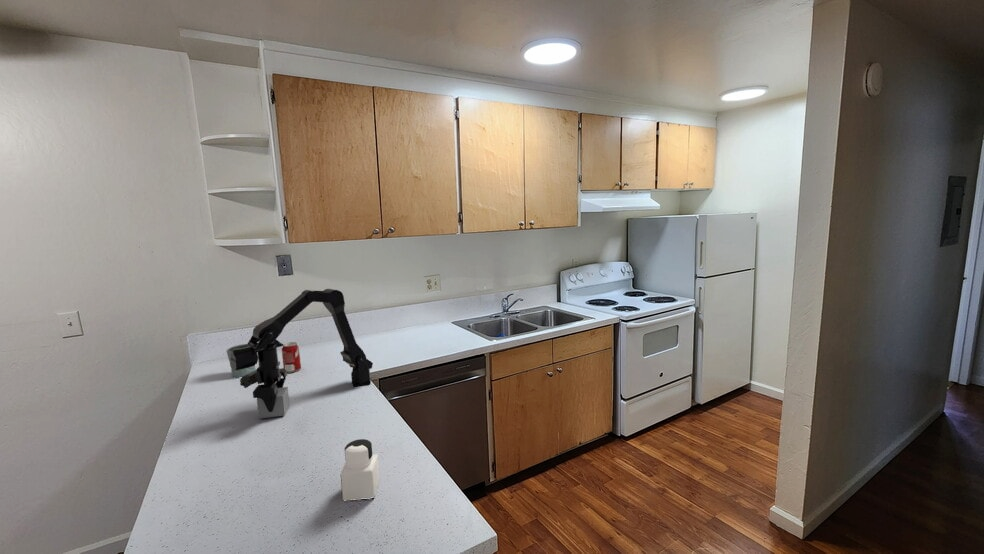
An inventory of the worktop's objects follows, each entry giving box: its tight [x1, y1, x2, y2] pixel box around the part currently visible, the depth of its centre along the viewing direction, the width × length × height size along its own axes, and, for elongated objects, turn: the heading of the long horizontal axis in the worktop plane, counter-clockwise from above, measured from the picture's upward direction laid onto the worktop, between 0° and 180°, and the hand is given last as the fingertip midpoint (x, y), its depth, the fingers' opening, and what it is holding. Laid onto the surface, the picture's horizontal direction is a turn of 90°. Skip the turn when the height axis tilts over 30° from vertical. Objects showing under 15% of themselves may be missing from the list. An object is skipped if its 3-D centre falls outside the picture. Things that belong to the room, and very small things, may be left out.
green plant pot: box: [226, 343, 256, 378], centre depth 179 cm, size 10×10×12 cm
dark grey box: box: [256, 386, 291, 419], centre depth 141 cm, size 8×8×7 cm
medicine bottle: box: [340, 438, 381, 501], centre depth 98 cm, size 7×7×12 cm
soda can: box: [281, 341, 302, 374], centre depth 181 cm, size 7×7×12 cm
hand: (273, 406), depth 141 cm, fingers closed on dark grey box, 8 cm apart
